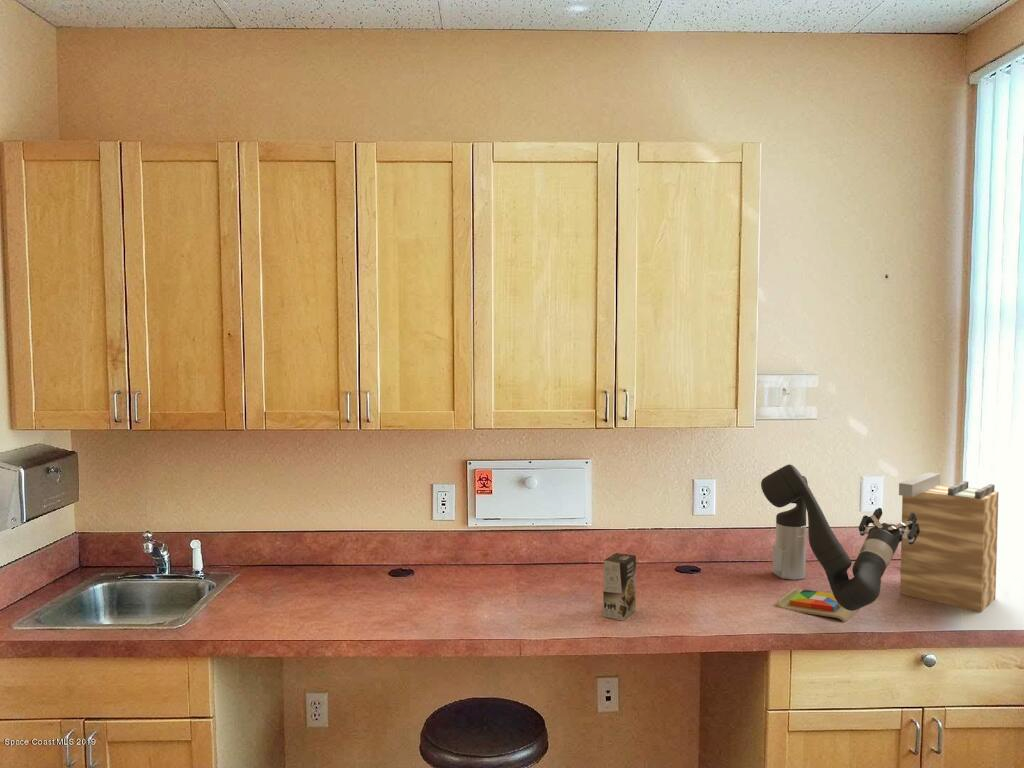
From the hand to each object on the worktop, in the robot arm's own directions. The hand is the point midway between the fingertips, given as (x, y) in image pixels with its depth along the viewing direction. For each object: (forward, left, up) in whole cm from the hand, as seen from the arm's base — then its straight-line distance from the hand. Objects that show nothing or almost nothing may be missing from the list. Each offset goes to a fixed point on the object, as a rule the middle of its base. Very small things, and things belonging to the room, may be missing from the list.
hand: (896, 512), depth 198 cm
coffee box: (-77, +9, -29) cm, 83 cm away
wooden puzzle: (-18, +7, -29) cm, 35 cm away
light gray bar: (+16, +12, +4) cm, 21 cm away
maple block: (+24, +10, -28) cm, 39 cm away
